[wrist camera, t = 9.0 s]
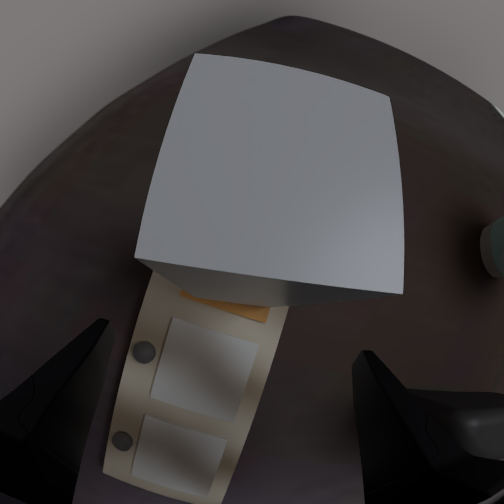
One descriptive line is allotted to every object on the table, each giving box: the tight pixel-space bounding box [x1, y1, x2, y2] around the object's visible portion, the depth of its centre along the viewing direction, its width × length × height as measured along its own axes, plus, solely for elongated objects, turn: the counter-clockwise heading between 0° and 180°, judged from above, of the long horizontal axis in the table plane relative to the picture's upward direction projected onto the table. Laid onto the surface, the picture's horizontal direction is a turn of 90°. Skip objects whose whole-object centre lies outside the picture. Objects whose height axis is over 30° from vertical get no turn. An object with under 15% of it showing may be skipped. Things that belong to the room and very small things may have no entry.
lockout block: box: [134, 54, 404, 307], centre depth 12 cm, size 4×4×14 cm
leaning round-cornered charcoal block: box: [407, 389, 504, 460], centre depth 15 cm, size 16×5×9 cm, turn 74°
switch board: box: [103, 270, 289, 504], centre depth 18 cm, size 22×9×2 cm, turn 163°
